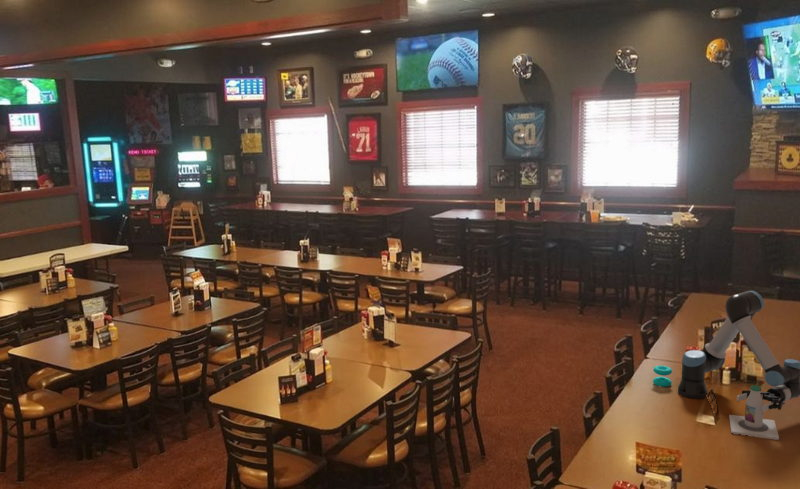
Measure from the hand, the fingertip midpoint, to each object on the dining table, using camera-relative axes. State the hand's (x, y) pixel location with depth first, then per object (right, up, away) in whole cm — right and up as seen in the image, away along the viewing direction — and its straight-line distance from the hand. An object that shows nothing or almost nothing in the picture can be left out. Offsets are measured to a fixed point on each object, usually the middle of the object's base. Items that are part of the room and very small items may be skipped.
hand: (750, 403), depth 318 cm
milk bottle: (+3, -12, +4) cm, 13 cm away
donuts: (-18, -4, +61) cm, 64 cm away
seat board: (+3, -13, +4) cm, 14 cm away
